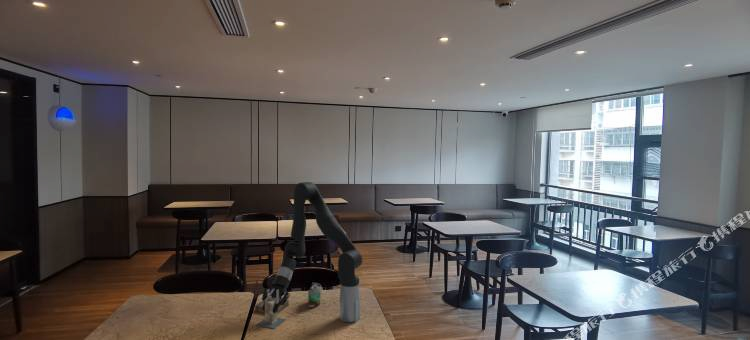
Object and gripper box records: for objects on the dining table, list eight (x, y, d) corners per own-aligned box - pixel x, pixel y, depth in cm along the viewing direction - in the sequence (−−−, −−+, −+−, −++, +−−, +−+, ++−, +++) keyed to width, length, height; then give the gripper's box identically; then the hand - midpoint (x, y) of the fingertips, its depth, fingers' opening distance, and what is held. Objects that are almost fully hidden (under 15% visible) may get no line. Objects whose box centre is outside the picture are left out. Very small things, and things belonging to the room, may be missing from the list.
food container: (319, 309, 195) (320, 290, 195) (308, 309, 195) (308, 290, 195) (323, 300, 208) (323, 282, 207) (312, 300, 208) (312, 282, 207)
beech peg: (277, 320, 182) (277, 300, 181) (272, 324, 178) (272, 303, 177) (269, 319, 183) (269, 298, 182) (264, 322, 179) (264, 302, 178)
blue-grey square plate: (286, 319, 183) (286, 319, 183) (274, 329, 174) (274, 328, 174) (268, 316, 187) (268, 315, 187) (255, 325, 177) (255, 324, 177)
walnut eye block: (288, 305, 200) (288, 299, 200) (275, 314, 189) (275, 308, 189) (269, 302, 204) (269, 296, 204) (255, 311, 193) (255, 305, 193)
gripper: (267, 273, 189) (252, 306, 178) (292, 276, 184) (278, 310, 173) (273, 280, 194) (259, 312, 183) (298, 283, 189) (285, 317, 178)
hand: (268, 311), depth 178 cm, fingers open, 5 cm apart
